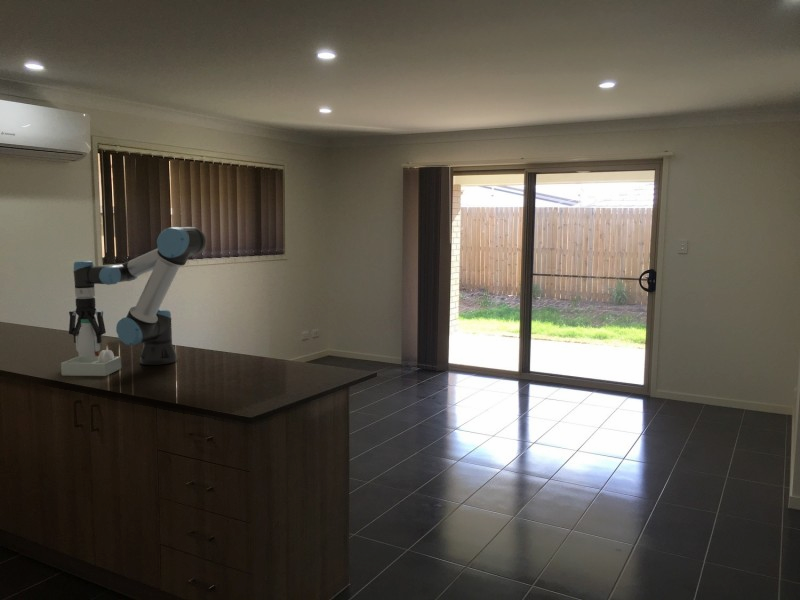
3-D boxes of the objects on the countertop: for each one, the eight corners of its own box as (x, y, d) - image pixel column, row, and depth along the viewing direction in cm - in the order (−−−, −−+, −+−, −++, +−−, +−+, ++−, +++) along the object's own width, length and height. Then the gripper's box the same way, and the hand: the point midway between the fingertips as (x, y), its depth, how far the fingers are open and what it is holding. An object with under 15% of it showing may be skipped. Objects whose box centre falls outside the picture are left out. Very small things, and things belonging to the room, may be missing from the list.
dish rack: (79, 367, 272) (78, 346, 271) (121, 368, 271) (120, 347, 270) (61, 375, 260) (60, 353, 258) (105, 375, 259) (104, 353, 257)
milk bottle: (91, 367, 274) (88, 320, 271) (75, 366, 275) (72, 319, 273) (103, 363, 281) (100, 317, 279) (87, 362, 283) (84, 316, 280)
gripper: (56, 298, 271) (60, 352, 274) (104, 298, 270) (107, 352, 273) (66, 296, 279) (70, 348, 282) (113, 296, 278) (115, 349, 281)
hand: (88, 350), depth 277 cm, fingers closed on milk bottle, 7 cm apart
